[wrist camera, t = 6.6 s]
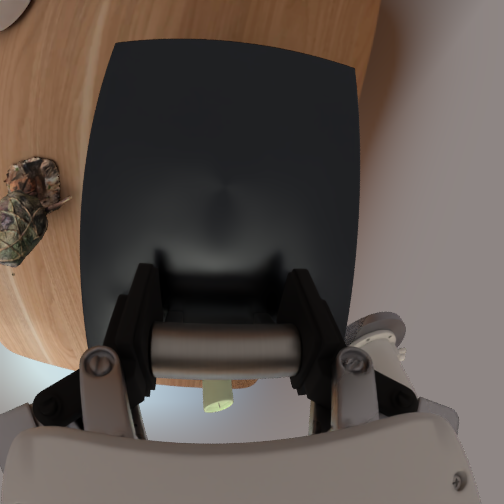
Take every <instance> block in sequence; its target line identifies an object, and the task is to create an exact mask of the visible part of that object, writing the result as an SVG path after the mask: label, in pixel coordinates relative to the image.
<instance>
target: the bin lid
mask: <svg viewBox="0 0 504 504" xmlns="http://www.w3.org/2000/svg"><path fill="white" fill-rule="evenodd" d="M359 196H360V133H359V112H358V97H357V85H356V75H355V68H353V67H350V66H347V65H343V64H340V63H337V62H334V61H330V60H327V59H323V58H320V57H316V56H312V55H308V54H304V53H300V52H295V51H291V50H286V49H281V48H275V47H270V46H264V45H257V44H250V43H242V42H233V41H222V40H207V39H152V40H138V41H127V42H118V43H115V46H114V49H113V51H112V54H111V57H110V60H109V63H108V66H107V69H106V73H105V76H104V79H103V83H102V86H101V90H100V94H99V97H98V101H97V106H96V110H95V114H94V119H93V123H92V128H91V133H90V139H89V145H88V151H87V157H86V164H85V172H84V181H83V191H82V203H81V221H80V274H81V292H82V304H83V315H84V323H85V331H86V338H87V345H88V349H90V348H91V347H94V346H102V345H103V342H104V338H105V335H106V332H107V329H108V325H109V322H110V319H111V316H112V313H113V310H114V307H115V304H116V301H117V299H118V296H119V295H120V294H125V295H128V294H129V291H130V288H131V285H132V282H133V279H134V276H135V273H136V270H137V267H138V265H139V263H152V264H153V265H154V267H158V271H159V282H160V291H161V300H162V309H163V322H154V323H153V325H152V327H151V331H150V338H149V362H150V369H151V372H152V375H153V376H154V377H156V378H171V379H193V380H243V379H266V378H281V377H292V376H295V375H297V373H298V372H299V370H300V366H301V361H302V344H301V338H300V334H299V331H298V329H297V327H296V326H295V325H294V324H276V319H277V314H278V310H279V306H280V303H281V299H282V295H283V291H284V287H285V283H286V279H287V275H288V273H289V272H292V270H293V269H307V270H308V271H309V273H310V275H311V278H312V280H313V282H314V284H315V286H316V288H317V291H318V293H319V295H320V297H321V299H324V300H325V301H326V302H327V304H328V306H329V308H330V311H331V313H332V315H333V317H334V319H335V322H336V324H337V326H338V328H339V330H340V333H341V335H342V337H343V339H345V333H346V327H347V321H348V315H349V308H350V301H351V293H352V286H353V277H354V268H355V258H356V247H357V235H358V219H359Z"/></svg>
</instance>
